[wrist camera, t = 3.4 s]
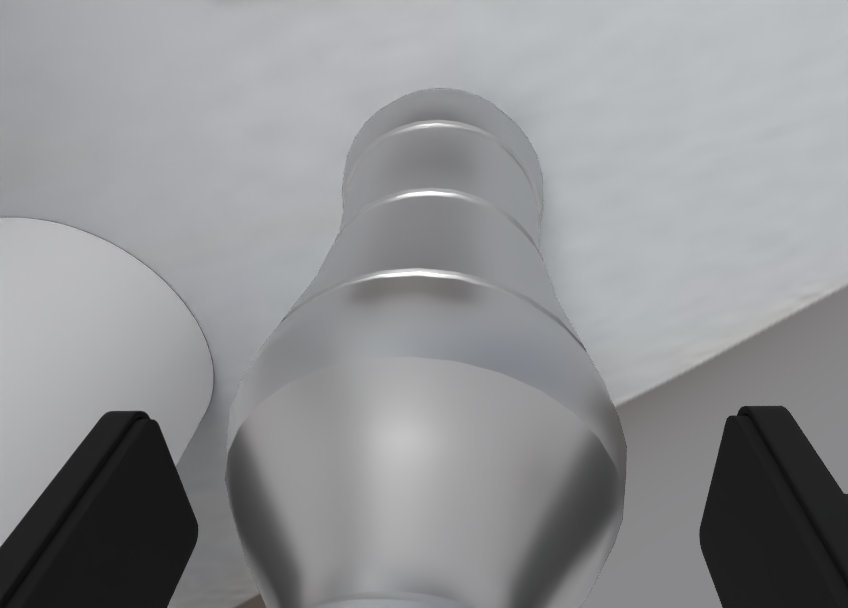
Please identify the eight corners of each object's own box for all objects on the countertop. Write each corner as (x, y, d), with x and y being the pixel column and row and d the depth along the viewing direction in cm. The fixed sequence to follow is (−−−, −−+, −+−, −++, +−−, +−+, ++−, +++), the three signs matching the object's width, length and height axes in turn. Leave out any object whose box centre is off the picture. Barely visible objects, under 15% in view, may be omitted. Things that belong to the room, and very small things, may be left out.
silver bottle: (412, 33, 20) (123, 606, 3) (573, 142, 22) (960, 913, 5) (325, 188, 23) (-57, 901, 6) (472, 274, 25) (487, 1027, 8)
